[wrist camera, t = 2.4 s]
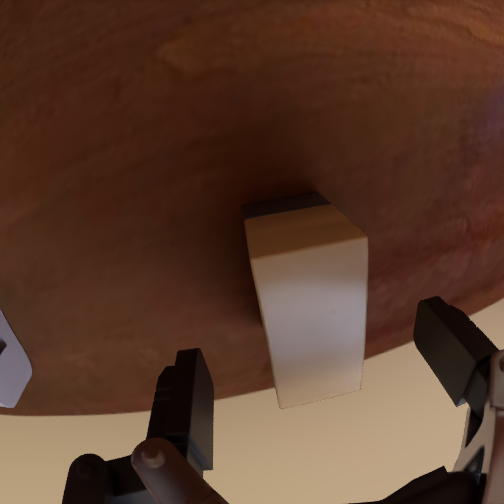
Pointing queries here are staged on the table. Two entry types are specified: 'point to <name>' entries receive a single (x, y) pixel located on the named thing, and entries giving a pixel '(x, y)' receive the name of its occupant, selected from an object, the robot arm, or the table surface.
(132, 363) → the table surface
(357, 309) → the eraser
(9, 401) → the charger
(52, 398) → the table surface
